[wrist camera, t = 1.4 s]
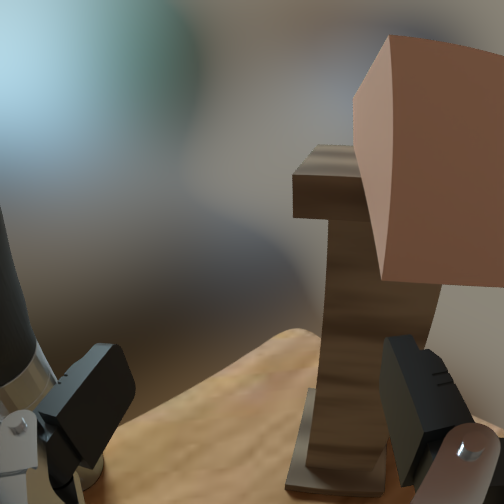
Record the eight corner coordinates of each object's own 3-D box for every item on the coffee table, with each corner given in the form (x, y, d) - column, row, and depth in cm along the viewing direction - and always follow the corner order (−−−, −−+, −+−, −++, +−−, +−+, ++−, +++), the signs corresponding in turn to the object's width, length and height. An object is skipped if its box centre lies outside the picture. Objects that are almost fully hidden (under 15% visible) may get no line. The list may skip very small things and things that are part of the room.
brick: (556, 289, 4) (584, 87, 3) (381, 280, 5) (388, 34, 4) (401, 150, 23) (401, 102, 22) (353, 147, 24) (352, 98, 23)
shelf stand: (380, 497, 23) (502, 192, 11) (284, 489, 26) (292, 174, 14) (383, 401, 36) (431, 152, 23) (307, 395, 38) (317, 144, 26)
